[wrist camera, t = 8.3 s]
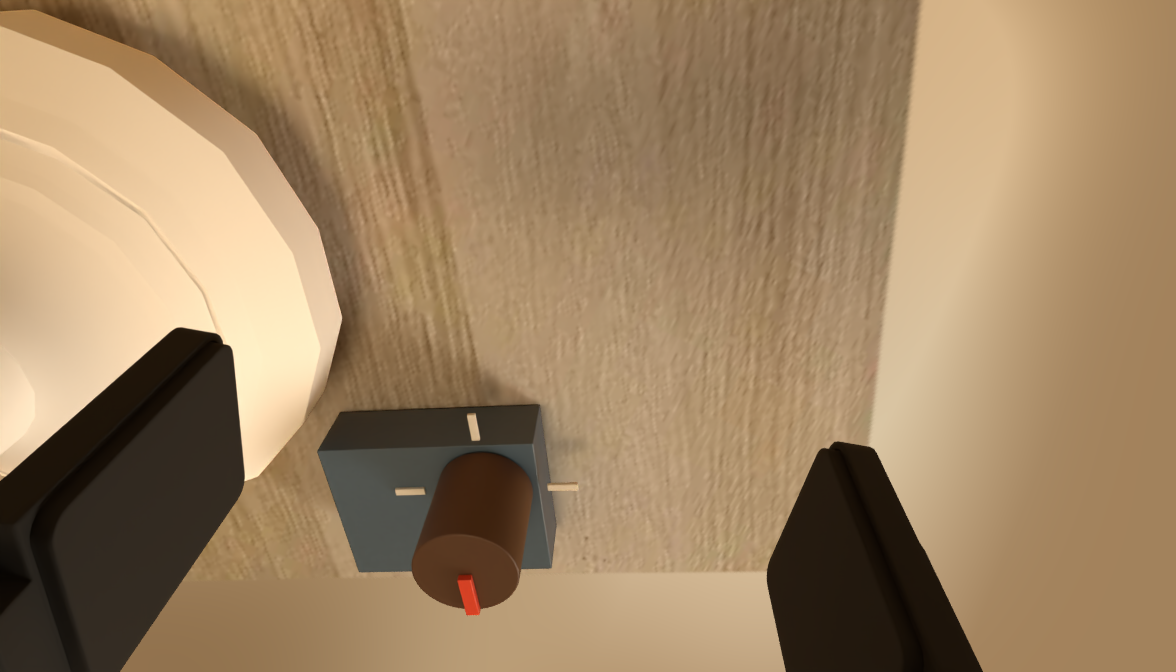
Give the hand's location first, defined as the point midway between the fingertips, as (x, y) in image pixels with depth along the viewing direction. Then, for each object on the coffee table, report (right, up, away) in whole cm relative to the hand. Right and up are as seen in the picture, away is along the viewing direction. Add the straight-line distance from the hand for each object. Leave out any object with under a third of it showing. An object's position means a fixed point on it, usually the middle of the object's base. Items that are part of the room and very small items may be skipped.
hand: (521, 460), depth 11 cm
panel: (-5, -4, +24) cm, 25 cm away
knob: (-4, -5, +21) cm, 22 cm away
